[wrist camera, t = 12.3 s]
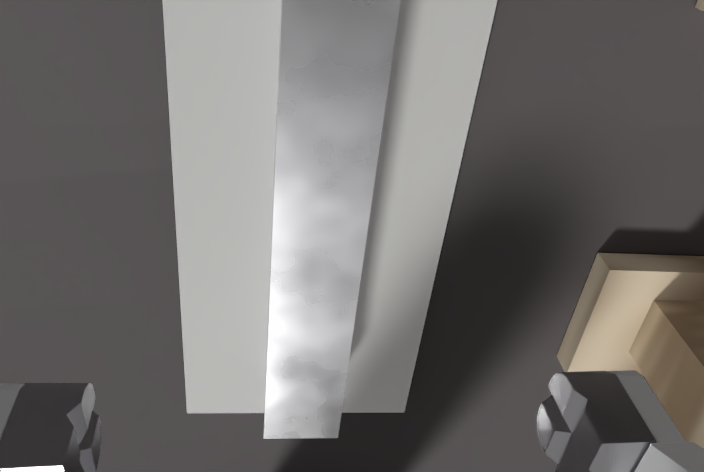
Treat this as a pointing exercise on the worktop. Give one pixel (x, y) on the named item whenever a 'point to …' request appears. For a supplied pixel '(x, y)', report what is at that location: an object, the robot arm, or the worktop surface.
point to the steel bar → (322, 202)
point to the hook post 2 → (700, 5)
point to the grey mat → (257, 191)
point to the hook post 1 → (645, 329)
